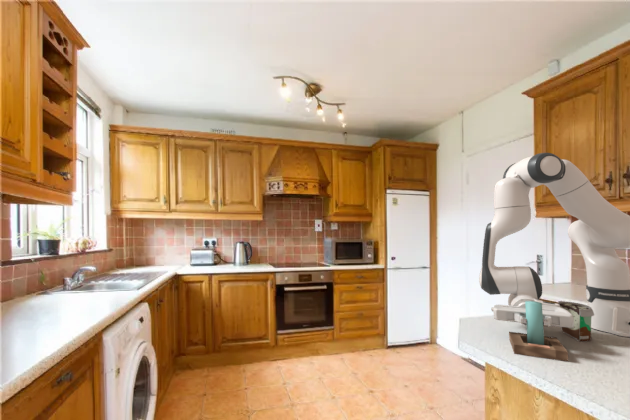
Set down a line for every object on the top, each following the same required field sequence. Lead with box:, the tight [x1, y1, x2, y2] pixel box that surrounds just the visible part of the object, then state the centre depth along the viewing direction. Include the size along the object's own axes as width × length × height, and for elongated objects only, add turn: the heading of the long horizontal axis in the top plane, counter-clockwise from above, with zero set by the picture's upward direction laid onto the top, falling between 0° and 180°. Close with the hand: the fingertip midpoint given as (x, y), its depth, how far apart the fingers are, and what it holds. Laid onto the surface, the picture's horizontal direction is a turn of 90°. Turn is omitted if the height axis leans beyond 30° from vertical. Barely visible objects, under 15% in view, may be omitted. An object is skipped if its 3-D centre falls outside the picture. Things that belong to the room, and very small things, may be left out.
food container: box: [557, 300, 594, 342], centre depth 98 cm, size 12×6×10 cm, turn 168°
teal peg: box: [525, 301, 545, 345], centre depth 89 cm, size 4×4×12 cm
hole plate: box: [508, 331, 569, 362], centre depth 88 cm, size 12×12×3 cm
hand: (535, 322), depth 88 cm, fingers open, 4 cm apart
